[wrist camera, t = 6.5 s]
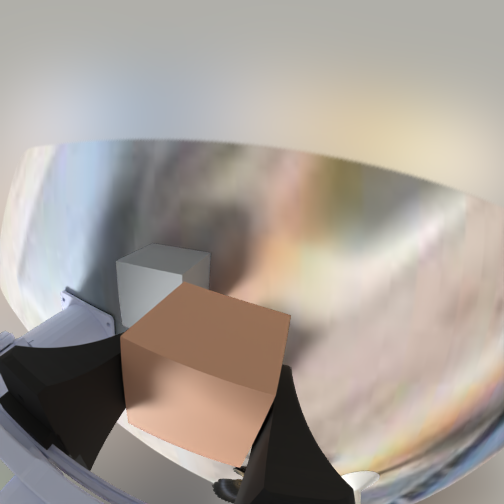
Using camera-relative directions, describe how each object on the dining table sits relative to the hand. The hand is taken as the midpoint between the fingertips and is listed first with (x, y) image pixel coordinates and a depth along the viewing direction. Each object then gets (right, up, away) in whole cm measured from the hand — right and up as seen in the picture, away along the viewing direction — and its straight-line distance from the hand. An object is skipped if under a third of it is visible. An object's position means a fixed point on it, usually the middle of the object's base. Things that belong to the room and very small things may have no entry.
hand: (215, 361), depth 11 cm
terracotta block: (0, 0, +1) cm, 2 cm away
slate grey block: (-4, +3, +10) cm, 11 cm away
